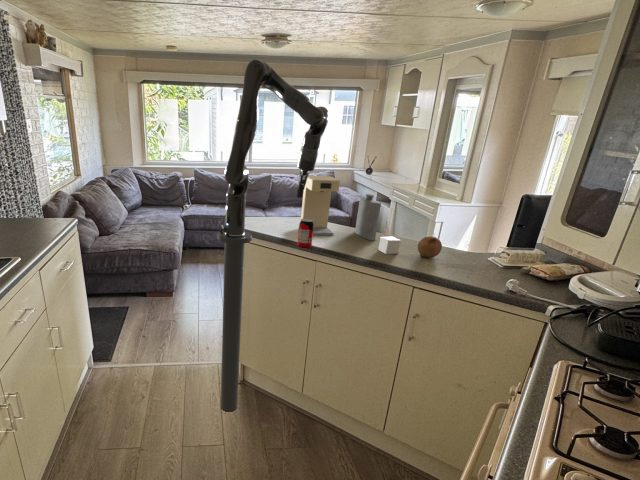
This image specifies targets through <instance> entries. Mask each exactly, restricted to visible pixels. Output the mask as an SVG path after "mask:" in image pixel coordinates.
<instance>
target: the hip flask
mask: <svg viewBox="0 0 640 480" xmlns="http://www.w3.org/2000/svg"><path fill="white" fill-rule="evenodd" d="M374 196H375V195H374V194H370V193H366V194H365V196H360V197H359V202H358V209H357V210H358V211H357V216H356V222H355V229H354V233H355V234H356V235H358V236H359V237H362V238H363V239H365V240H368V241H373V242H374V241H376V237H377V232H378V226H379V225H378V224H379V219H380V214H381V207H382V202H380V201H376V200H374Z"/></svg>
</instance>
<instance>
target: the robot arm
mask: <svg viewBox="0 0 640 480" xmlns="http://www.w3.org/2000/svg"><path fill="white" fill-rule="evenodd" d="M261 87H263V88H264V89H267V90H269V91H271V92H272V93H274V94H275V95H276V96H277V97H278V98H279V99H280V100H281V101H282V103H284V104H285V105H286V106H287V107H288V108H289V109H291V110H292V111H294V112H295V113H296V114H298V115H299V117H300V118H302V120H303V121H304V122H305V123H306V124H307V125H309V128H308V130H307V131H305V132H304V136H303V141H302V144H301V148H300V151H299V156H298V160H297V165H296V167H297V169H298V170H301V171H299V173H298V174H299V175H298V182H297V184H298V186H297V193H296V198H298V199H303V192H304V189H305V185H306V183H307V179H308V176H310V173H309V172H313V171H314V170H315V167H316V164H317V159H318V156H319V149H320V147H321V146H320V145H321V141H322V137H323V135H324V132H325V130H326V128H327V126H328V122H329V119H330V113H329V109H328V108H327V107H325V106H322V105H321V106H316V105H314V104H313V103H311V99H310V98H309V97H308V96H307V95H305V94H304V93H303V92H301V91H300V90H298V89H297V88H296V87H294V86H293V85H291V84H290V83H289V82H287V81H286V80H285V79H283V78H282V77H281V75H279V74H278V73H277V72H276V71H275V70H274V68H272V66H271V65H270V64H269V63H268V62H266V61H264V60H260V59H257V58H256V59H255V58H254V59H251V60H250V61H249V62H248V63H247V65H246V67H245V69H244V76H243V85H242V94H241V99H240V104H239V109H238V114H237V118H236V122H235V123H236V124H235V126H234V127H235V128H234V134H233V139H232V142H231V150H230V154H229V156H228V157H229V158H228V161H227V164H226V167H225V170H224V179H225V182H226V183H227V184H228V189H227V191H226V195H225V214H224V224H221V228H220V229H219V232H220V233H221V234H223V232H225V235H226V236H229V237H242V236H244V234H245V233H244V231H245V228H246V227H245V225H246V203H247V202H246V201H247V195H248V189H249V177H250V176H249V169H248V167H247V166H246V165H245V163H246V160H247V159H246V158H247V156H248V152H249V150H250V148H251V147H252V144H253V142H254V140H255V137H256V134H257V129H258V125H259V108H258V107H259V105H258V103H259V101H258V100H259V94H260V90H261ZM222 231H223V232H222Z"/></svg>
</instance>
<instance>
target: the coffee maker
mask: <svg viewBox="0 0 640 480" xmlns="http://www.w3.org/2000/svg"><path fill="white" fill-rule="evenodd" d="M340 184H341V180H340V179H338V178H335V177H334V176H331V175H309V176H308V179H307V183H306V185H305V189H304V190H303V194H302V204H301V213H300V220H301V219H312V220H313V223H314V229H313V236H334V232H333V231H332V230H331V229H330V228H328V224H329V216H330V207H331V199H332V192H339V190H340Z"/></svg>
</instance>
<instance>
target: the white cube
mask: <svg viewBox="0 0 640 480" xmlns="http://www.w3.org/2000/svg"><path fill="white" fill-rule="evenodd" d="M400 244H401V239H400V238H397V237H395V236H391V235H390V236H388V235H387V236H380V238H379V244H378V249H377V251H379V252H380V253H383V254H385V255H395V254H399V250H400Z"/></svg>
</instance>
